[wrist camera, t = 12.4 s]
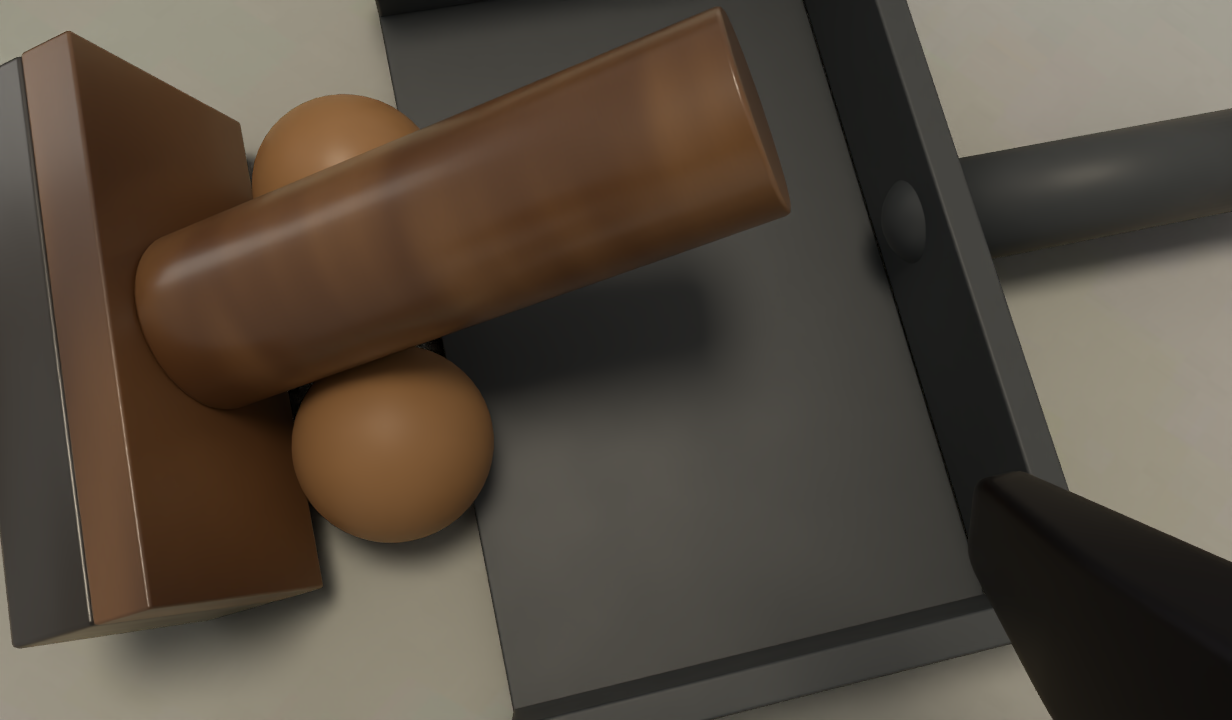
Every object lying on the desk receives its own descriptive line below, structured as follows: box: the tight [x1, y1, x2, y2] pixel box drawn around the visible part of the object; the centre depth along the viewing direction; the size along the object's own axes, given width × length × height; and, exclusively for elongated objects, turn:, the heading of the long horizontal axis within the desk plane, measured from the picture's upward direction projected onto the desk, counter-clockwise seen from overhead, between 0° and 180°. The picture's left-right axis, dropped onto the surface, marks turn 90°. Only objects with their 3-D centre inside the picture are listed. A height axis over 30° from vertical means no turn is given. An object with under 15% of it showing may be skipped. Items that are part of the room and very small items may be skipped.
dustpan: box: [375, 0, 1232, 720], centre depth 19 cm, size 19×15×3 cm
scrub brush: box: [0, 6, 791, 648], centre depth 15 cm, size 9×4×12 cm
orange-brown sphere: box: [292, 347, 494, 543], centre depth 17 cm, size 3×3×3 cm
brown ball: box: [252, 94, 420, 199], centre depth 18 cm, size 3×3×3 cm
